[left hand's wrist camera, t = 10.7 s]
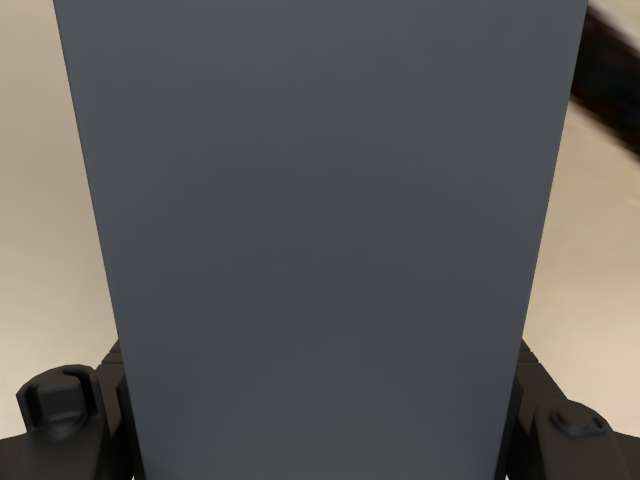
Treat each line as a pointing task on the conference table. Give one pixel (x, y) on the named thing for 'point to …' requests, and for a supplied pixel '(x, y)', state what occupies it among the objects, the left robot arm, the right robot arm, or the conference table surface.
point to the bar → (320, 223)
